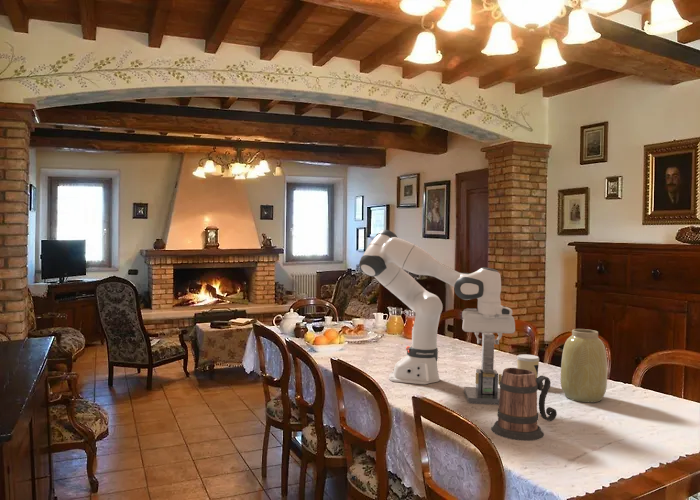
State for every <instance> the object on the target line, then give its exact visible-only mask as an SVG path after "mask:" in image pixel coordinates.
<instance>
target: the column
mask: <svg viewBox="0 0 700 500" xmlns="http://www.w3.org/2000/svg"><path fill="white" fill-rule="evenodd" d="M481 336H482V338H481V339H482V341H481V342H482V344H481V345H482V346H481V369H482V371H481V373H482V375H481V392H482V393H483V394H493V377H483V373H489V374H493V370H494V365H495V362H494V361H495V360H494V359H495V358H494V357H495V339H496V336H495V333H484V332H481Z"/></svg>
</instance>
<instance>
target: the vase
mask: <svg viewBox="0 0 700 500" xmlns="http://www.w3.org/2000/svg"><path fill="white" fill-rule="evenodd" d="M607 357H608V356H607V351H606V346H605V344H604V342H603V340H602V339H600V338H599V331H597V330H593V329H585V328H574V329H572V330H571V335H570V336H569V337H568V338H566V340H565V343H564V345H563V349H562V354H561V361H560V362H561V363H560V387H561V390H562V393H563V394H564V396H565V397H566V398H568V399H569V400H572V401H576V402H582V403H597V402H600V401H602V399H603V398H604V397H605V394H606V393H607V385H608V360H607V359H608V358H607Z"/></svg>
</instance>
